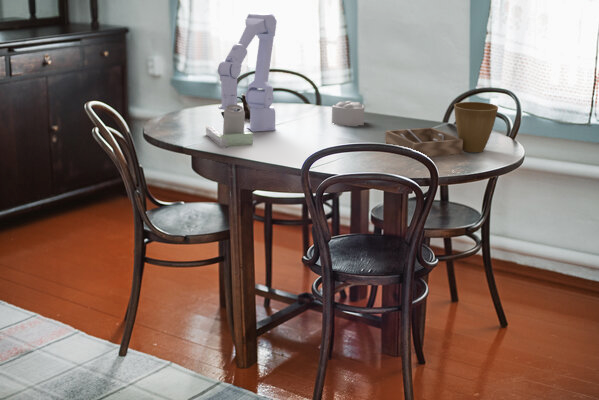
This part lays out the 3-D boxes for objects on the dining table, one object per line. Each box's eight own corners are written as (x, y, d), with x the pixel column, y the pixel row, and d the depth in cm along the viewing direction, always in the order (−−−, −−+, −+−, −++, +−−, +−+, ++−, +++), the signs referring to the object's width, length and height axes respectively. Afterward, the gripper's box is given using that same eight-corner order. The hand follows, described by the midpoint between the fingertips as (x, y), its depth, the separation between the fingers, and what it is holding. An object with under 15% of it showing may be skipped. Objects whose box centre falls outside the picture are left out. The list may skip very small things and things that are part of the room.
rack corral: (430, 140, 281) (431, 127, 279) (461, 154, 262) (463, 139, 261) (384, 144, 274) (385, 130, 273) (413, 158, 256) (414, 143, 254)
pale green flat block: (236, 132, 289) (236, 122, 288) (254, 145, 270) (254, 134, 269) (206, 134, 285) (206, 124, 284) (221, 147, 266) (221, 136, 265)
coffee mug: (266, 117, 318) (266, 94, 314) (254, 121, 311) (254, 96, 308) (244, 114, 323) (244, 91, 320) (231, 117, 316) (231, 93, 313)
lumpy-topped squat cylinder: (363, 126, 304) (364, 105, 301) (331, 125, 305) (331, 104, 302) (363, 121, 314) (364, 100, 311) (331, 120, 315) (332, 99, 312)
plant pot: (446, 145, 274) (449, 101, 269) (486, 145, 275) (490, 101, 270) (456, 155, 260) (460, 109, 255) (499, 155, 261) (503, 109, 256)
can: (236, 144, 273) (237, 114, 267) (218, 138, 276) (219, 108, 269) (247, 136, 279) (249, 107, 272) (230, 130, 282) (231, 101, 275)
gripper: (213, 91, 281) (214, 127, 285) (223, 98, 268) (224, 136, 272) (232, 91, 283) (232, 126, 287) (243, 97, 270) (243, 134, 274)
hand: (229, 131), depth 280 cm, fingers closed, pressing on can
